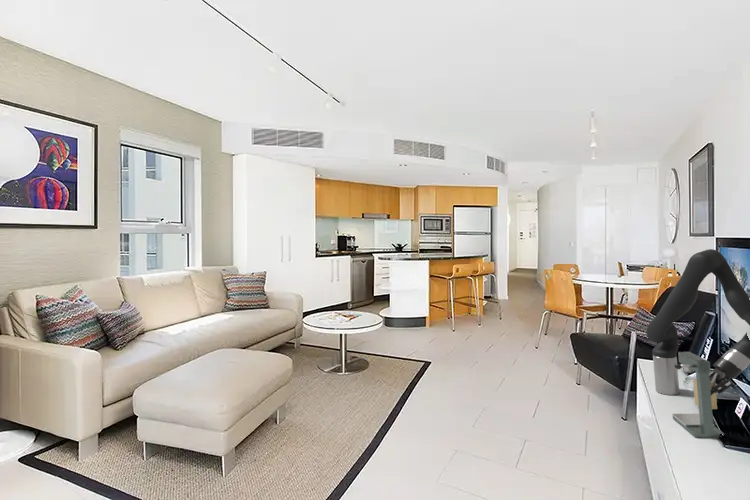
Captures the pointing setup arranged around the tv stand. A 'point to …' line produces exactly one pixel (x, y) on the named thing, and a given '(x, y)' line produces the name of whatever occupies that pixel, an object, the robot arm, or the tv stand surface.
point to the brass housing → (713, 396)
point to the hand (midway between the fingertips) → (699, 394)
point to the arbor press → (703, 421)
